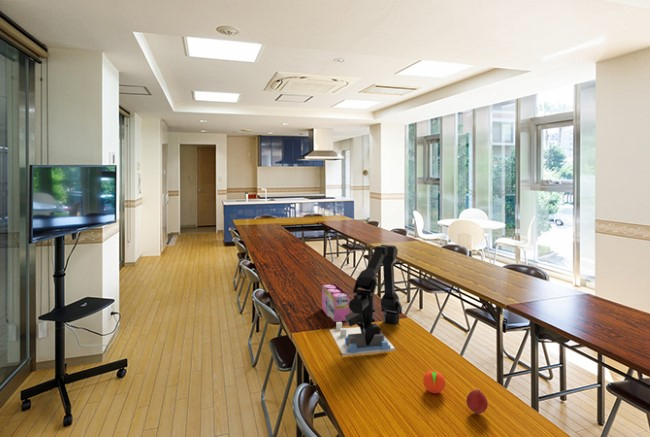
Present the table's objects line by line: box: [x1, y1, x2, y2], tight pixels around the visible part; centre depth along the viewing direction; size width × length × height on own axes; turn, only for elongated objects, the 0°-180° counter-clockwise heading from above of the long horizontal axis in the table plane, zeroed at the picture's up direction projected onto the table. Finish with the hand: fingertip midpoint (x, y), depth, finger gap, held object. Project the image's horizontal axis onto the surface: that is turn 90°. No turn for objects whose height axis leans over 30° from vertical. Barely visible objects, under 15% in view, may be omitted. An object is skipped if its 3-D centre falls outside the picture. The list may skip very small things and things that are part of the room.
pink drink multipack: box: [321, 282, 350, 322], centre depth 195 cm, size 24×8×14 cm, turn 17°
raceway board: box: [329, 321, 396, 357], centre depth 164 cm, size 22×25×4 cm
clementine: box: [422, 369, 446, 394], centre depth 124 cm, size 8×7×7 cm
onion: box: [466, 388, 489, 416], centre depth 113 cm, size 6×6×8 cm
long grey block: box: [348, 332, 385, 348], centre depth 156 cm, size 14×4×4 cm, turn 102°
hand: (366, 342), depth 156 cm, fingers open, 4 cm apart
